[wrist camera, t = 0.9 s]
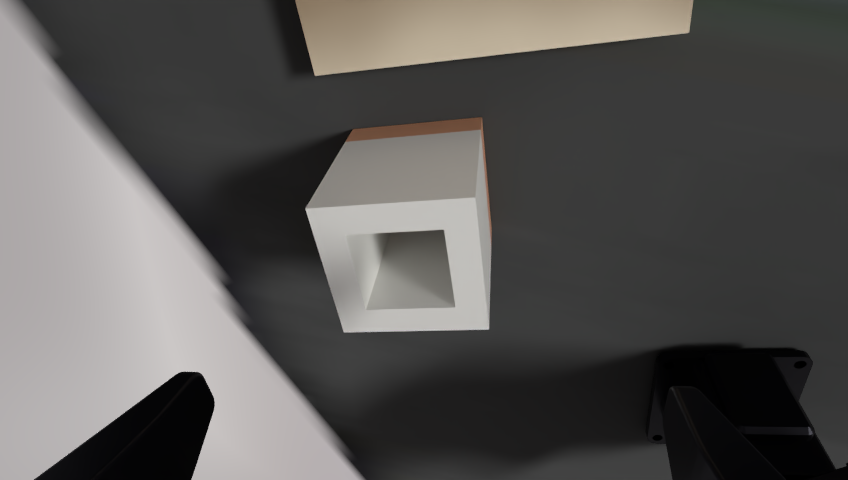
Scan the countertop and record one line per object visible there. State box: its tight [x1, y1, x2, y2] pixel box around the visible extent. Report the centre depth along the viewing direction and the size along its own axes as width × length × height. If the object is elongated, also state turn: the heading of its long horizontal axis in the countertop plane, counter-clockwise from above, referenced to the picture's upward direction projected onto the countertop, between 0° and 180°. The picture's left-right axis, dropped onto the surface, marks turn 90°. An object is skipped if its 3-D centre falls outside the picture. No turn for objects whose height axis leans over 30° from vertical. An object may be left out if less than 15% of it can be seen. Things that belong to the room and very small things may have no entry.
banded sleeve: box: [305, 117, 492, 332], centre depth 19 cm, size 5×5×6 cm
